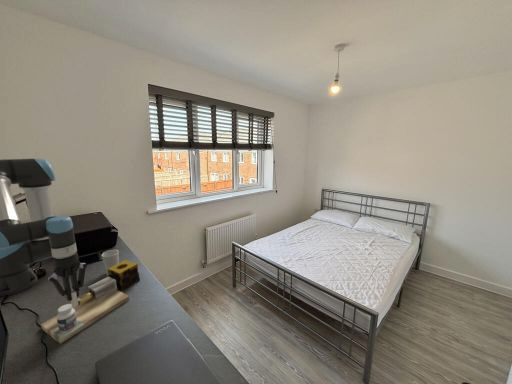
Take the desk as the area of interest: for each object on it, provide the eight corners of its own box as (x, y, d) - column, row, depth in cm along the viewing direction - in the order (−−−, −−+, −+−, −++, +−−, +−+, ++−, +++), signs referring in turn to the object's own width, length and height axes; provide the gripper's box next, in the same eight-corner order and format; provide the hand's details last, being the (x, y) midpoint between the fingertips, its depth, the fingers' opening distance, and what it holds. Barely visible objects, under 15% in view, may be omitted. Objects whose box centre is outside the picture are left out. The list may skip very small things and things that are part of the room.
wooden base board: (41, 328, 83) (37, 311, 82) (110, 290, 106) (108, 276, 105) (61, 344, 77) (57, 326, 75) (130, 299, 100) (128, 285, 98)
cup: (112, 277, 117) (110, 257, 114) (100, 275, 118) (97, 255, 116) (124, 269, 124) (121, 250, 122) (112, 267, 126) (110, 249, 124)
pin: (75, 304, 92) (74, 298, 91) (95, 293, 99) (94, 287, 98) (79, 306, 90) (78, 300, 90) (99, 295, 97) (98, 289, 97)
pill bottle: (56, 330, 80) (51, 310, 78) (72, 320, 85) (68, 301, 83) (64, 335, 78) (60, 314, 76) (80, 324, 83) (77, 304, 81)
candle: (140, 280, 114) (138, 263, 112) (122, 291, 105) (119, 273, 103) (128, 275, 119) (126, 259, 117) (109, 285, 110) (106, 268, 108)
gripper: (48, 264, 78) (59, 319, 83) (88, 249, 89) (96, 298, 94) (39, 259, 81) (50, 312, 86) (79, 246, 93) (87, 293, 97)
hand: (74, 305), depth 90 cm, fingers closed
